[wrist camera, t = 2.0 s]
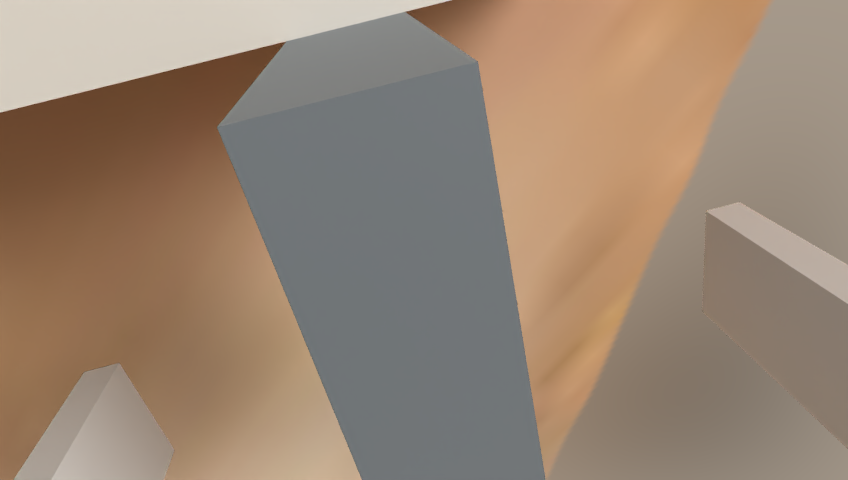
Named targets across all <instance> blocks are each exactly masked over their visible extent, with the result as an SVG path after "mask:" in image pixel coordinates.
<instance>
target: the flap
mask: <svg viewBox="0 0 848 480" xmlns="http://www.w3.org/2000/svg"><path fill="white" fill-rule="evenodd" d="M446 1H450V0H0V112H4V111H8V110H12V109H16V108H20V107H24V106H28V105H32V104H36V103H40V102H45V101H49V100H53V99H57V98H61V97H65V96H69V95H73V94H77V93H81V92H85V91H89V90H93V89H97V88H101V87H105V86H109V85H113V84H117V83H121V82H125V81H129V80H133V79H137V78H141V77H145V76H149V75H153V74H157V73H161V72H165V71H169V70H173V69H177V68H181V67H185V66H189V65H193V64H197V63H201V62H205V61H209V60H213V59H217V58H221V57H225V56H229V55H233V54H237V53H241V52H245V51H249V50H253V49H257V48H261V47H266V46H270V45H274V44H278V43H282V42H286V43H285V44H284V45H283V46H282V48H281V49H280V50H279V51H278V53H277V54H276V55H275V56H274V57H273V59H272V60H271V61H270V62H269V64H268V65H267V66H266V67H265V69H264V70H263V71H262V72H261V74H260V75H259V76H258V77H257V78H256V80H255V81H254V82H253V83H252V85H251V86H250V87H249V88H248V90H247V91H246V92H245V93H244V94H243V96H242V97H241V98H240V99H239V101H238V102H237V103H236V104H235V106H234V107H233V108H232V109H231V111H230V112H229V113H228V114H227V115H226V117H225V118H224V119H223V120H222V122H221V123H220V124H219V125H218V127H217V128H218V131H219V133H220V136H221V138H222V141H223V143H224V145H225V148H226V150H227V153H228V155H229V158H230V160H231V162H232V165H233V167H234V170H235V172H236V175H237V177H238V179H239V182H240V184H241V187H242V189H243V192H244V194H245V196H246V199H247V201H248V204H249V206H250V209H251V211H252V213H253V216H254V218H255V221H256V223H257V226H258V228H259V230H260V233H261V235H262V238H263V240H264V243H265V245H266V247H267V250H268V252H269V255H270V257H271V260H272V262H273V264H274V267H275V269H276V272H277V274H278V277H279V279H280V281H281V284H282V286H283V289H284V291H285V294H286V296H287V298H288V301H289V303H290V306H291V308H292V311H293V313H294V315H295V318H296V320H297V323H298V325H299V328H300V330H301V332H302V335H303V337H304V340H305V342H306V345H307V347H308V349H309V352H310V354H311V357H312V359H313V362H314V364H315V366H316V369H317V371H318V374H319V376H320V379H321V381H322V384H323V386H324V388H325V391H326V393H327V396H328V398H329V401H330V403H331V405H332V408H333V410H334V413H335V415H336V418H337V420H338V422H339V425H340V427H341V430H342V432H343V435H344V437H345V439H346V442H347V444H348V447H349V449H350V452H351V454H352V456H353V459H354V461H355V464H356V466H357V469H358V471H359V473H360V476H361V478H362V480H545V473H544V467H543V461H542V455H541V449H540V442H539V436H538V430H537V424H536V418H535V412H534V405H533V399H532V393H531V387H530V381H529V375H528V368H527V362H526V356H525V350H524V344H523V337H522V331H521V325H520V319H519V313H518V307H517V300H516V294H515V288H514V282H513V276H512V269H511V263H510V257H509V251H508V245H507V239H506V232H505V226H504V220H503V214H502V208H501V202H500V195H499V189H498V183H497V177H496V171H495V164H494V158H493V152H492V146H491V140H490V134H489V127H488V121H487V115H486V109H485V103H484V96H483V90H482V84H481V78H480V72H479V66H478V61H476V60H475V59H473V58H472V57H470V56H469V55H467V54H466V53H465V52H463V51H462V50H460V49H459V48H457V47H456V46H454V45H453V44H451V43H450V42H448V41H447V40H445V39H444V38H443V37H441V36H440V35H438V34H437V33H435V32H434V31H432V30H431V29H429V28H428V27H426V26H425V25H423V24H422V23H421V22H419V21H418V20H416V19H415V18H413V17H412V16H410V15H409V14H407V13H406V11H410V10H414V9H418V8H422V7H426V6H430V5H434V4H438V3H442V2H446Z"/></svg>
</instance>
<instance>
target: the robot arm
mask: <svg viewBox="0 0 848 480" xmlns="http://www.w3.org/2000/svg"><path fill="white" fill-rule="evenodd" d="M704 252H705V253H704V278H703V305H702V306H703V307H702V312H703V313H705V314H706V315H707V316H708V317H709V318H710V319H711V320H712V321H713V322H714V323H715V324H716V325H717V326H718V327H719V328H720V329H722V331H724V332H725V333H726V334H727V335H728V336H729V337H730V338H731V339H732V340H733V341H734V342H735V343H736V344H737V345H738V346H739V347H740V348H742V349H743V350H744V351H745V352H746V353H747V354H748V355H749V356H750V357H751V358H752V359H753V360H754V361H755V362H757V364H758V365H760V366H761V367H762V368H763V369H764V370H765V371H766V372H767V373H768V374H769V375H770V376H771V377H772V378H773V379H774V380H775V381H777V382H778V383H779V384H780V385H781V386H782V387H783V388H784V389H785V390H786V391H787V392H788V393H789V394H790V395H791V396H793V397H794V399H796V400H797V401H798V402H799V403H800V404H801V405H802V406H803V407H804V408H805V409H806V410H807V411H808V412H809V413H810V414H811V415H812V416H814V417H815V418H816V419H817V420H818V421H819V422H820V423H821V424H822V425H823V426H824V427H825V428H826V429H827V430H828V431H830V432H831V433H832V434H833V435H834V436H835V437H836V438H837V439H838V440H839V441H840V442H841V443H842V444H843V445H844V446H846V448H848V265H847V264H845V263H844V262H842V261H840V260H838V259H837V258H835V257H833V256H832V255H830V254H828V253H826V252H825V251H823V250H821V249H820V248H818V247H816V246H814V245H813V244H811V243H809V242H807V241H805V240H804V239H802V238H801V237H799V236H797V235H795V234H794V233H792V232H790V231H788V230H787V229H785V228H783V227H781V226H780V225H778V224H776V223H774V222H773V221H771V220H769V219H768V218H766V217H764V216H762V215H761V214H759V213H757V212H755V211H754V210H752V209H750V208H749V207H747V206H745V205H743V204H742V203H740V202H739V203H735V204H731V205H727V206H723V207H719V208H715V209H711V210H708V211H706V226H705V251H704ZM173 453H174V448H173V447H172V445H171V444H170V442H169V441H168V439H167V437H166V436H165V434H164V433H163V431H162V429H161V428H160V426H159V425H158V423H157V422H156V420H155V418H154V417H153V415H152V414H151V412H150V411H149V409H148V407H147V406H146V404H145V403H144V401H143V399H142V398H141V396H140V395H139V393H138V392H137V390H136V388H135V387H134V385H133V384H132V382H131V381H130V379H129V377H128V376H127V374H126V373H125V371H124V370H123V368H122V366H121V365H120V363H117V364H113V365H109V366H105V367H101V368H97V369H94V370H90V371H86V372H84V373H83V375H82V376H81V378H80V379H79V381H78V382H77V384H76V385H75V387H74V388H73V390H72V391H71V393H70V394H69V396H68V397H67V399H66V400H65V402H64V403H63V405H62V407H61V408H60V410H59V411H58V413H57V414H56V416H55V417H54V419H53V420H52V422H51V423H50V425H49V426H48V428H47V429H46V431H45V432H44V434H43V435H42V437H41V439H40V440H39V442H38V443H37V445H36V446H35V448H34V449H33V451H32V452H31V454H30V455H29V457H28V458H27V460H26V461H25V463H24V464H23V466H22V467H21V469H20V470H19V472H18V474H17V475H16V477H15V478H14V480H164V478H165V475H166V472H167V470H168V467H169V464H170V461H171V459H172V456H173Z"/></svg>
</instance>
